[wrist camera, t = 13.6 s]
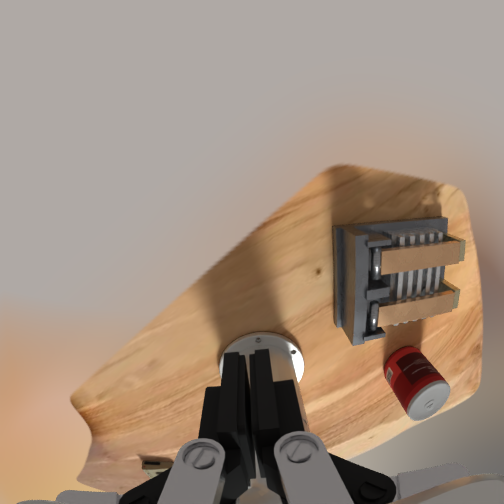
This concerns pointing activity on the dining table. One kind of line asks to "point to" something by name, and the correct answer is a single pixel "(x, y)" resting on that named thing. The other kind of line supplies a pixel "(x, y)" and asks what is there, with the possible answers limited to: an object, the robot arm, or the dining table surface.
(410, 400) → the canned food
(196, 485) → the robot arm
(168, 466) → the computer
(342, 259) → the heatsink block
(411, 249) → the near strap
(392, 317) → the strap
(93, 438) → the dining table surface
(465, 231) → the dining table surface
